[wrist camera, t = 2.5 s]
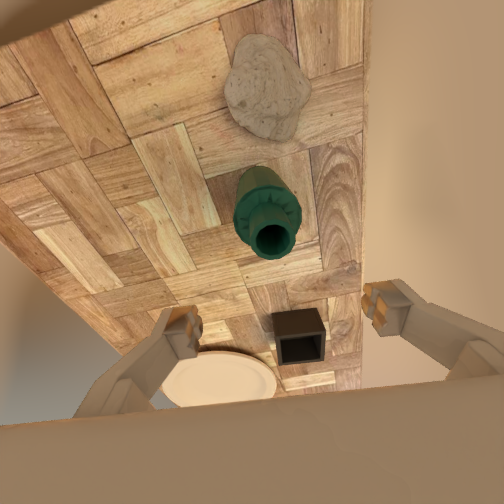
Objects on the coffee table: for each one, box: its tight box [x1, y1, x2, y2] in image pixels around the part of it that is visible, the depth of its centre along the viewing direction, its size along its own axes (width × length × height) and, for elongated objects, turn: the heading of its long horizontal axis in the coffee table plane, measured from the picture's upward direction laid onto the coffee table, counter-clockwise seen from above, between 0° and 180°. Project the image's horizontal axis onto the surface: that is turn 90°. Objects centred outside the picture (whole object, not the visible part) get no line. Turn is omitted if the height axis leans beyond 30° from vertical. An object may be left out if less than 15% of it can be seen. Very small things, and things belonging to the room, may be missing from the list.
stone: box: [224, 34, 311, 143], centre depth 22 cm, size 10×5×10 cm
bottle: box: [233, 166, 302, 260], centre depth 21 cm, size 6×6×16 cm
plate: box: [162, 351, 277, 407], centre depth 51 cm, size 28×28×2 cm
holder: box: [272, 308, 326, 366], centre depth 40 cm, size 9×9×6 cm
